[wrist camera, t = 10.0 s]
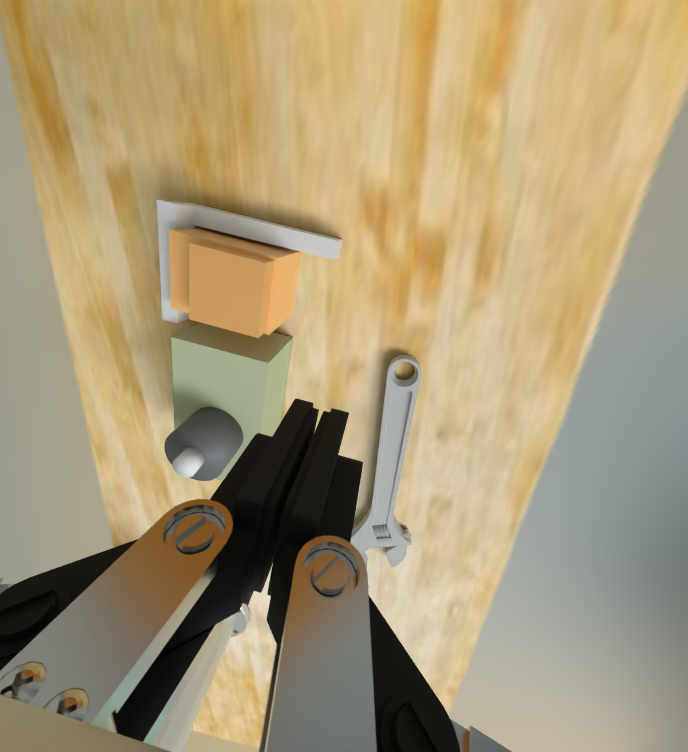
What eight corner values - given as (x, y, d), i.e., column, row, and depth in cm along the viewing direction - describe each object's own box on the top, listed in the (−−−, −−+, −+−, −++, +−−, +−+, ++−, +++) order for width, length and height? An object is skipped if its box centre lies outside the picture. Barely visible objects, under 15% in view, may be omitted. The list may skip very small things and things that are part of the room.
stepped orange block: (291, 315, 26) (260, 341, 20) (209, 293, 26) (156, 313, 21) (301, 251, 24) (269, 260, 18) (211, 228, 24) (152, 229, 18)
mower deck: (300, 455, 32) (262, 542, 23) (194, 425, 32) (118, 499, 24) (342, 239, 23) (306, 249, 14) (194, 203, 23) (71, 191, 15)
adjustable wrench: (389, 348, 26) (388, 356, 25) (468, 364, 26) (473, 373, 24) (345, 548, 37) (342, 563, 36) (400, 562, 37) (400, 577, 35)
